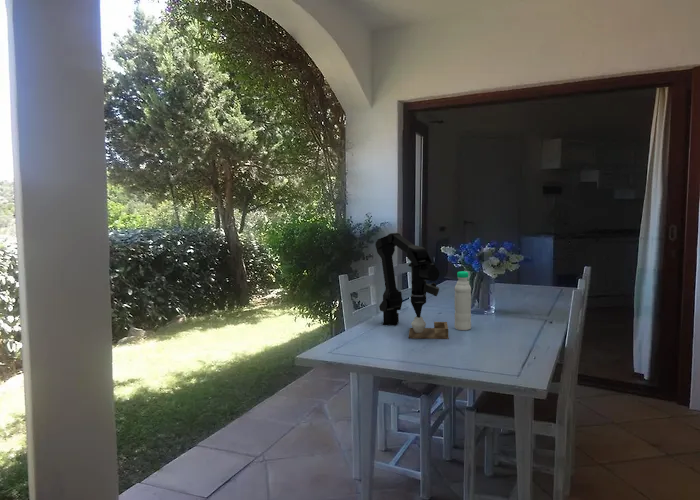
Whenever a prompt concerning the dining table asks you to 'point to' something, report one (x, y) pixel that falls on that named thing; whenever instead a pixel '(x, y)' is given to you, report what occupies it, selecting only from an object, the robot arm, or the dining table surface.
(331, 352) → the dining table surface
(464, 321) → the white milk bottle
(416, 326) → the muffin
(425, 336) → the channel bracket
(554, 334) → the dining table surface
